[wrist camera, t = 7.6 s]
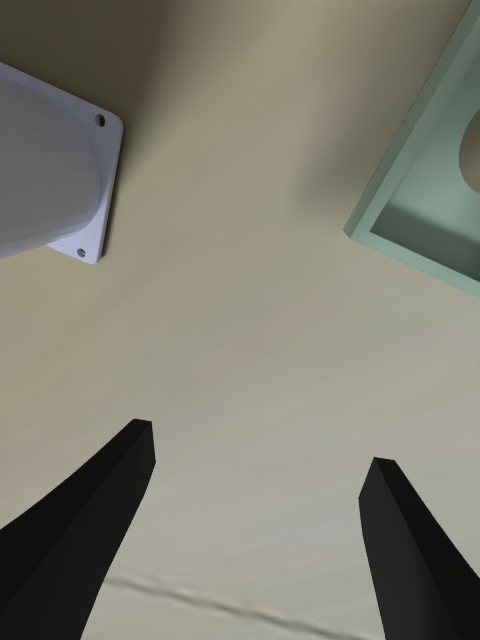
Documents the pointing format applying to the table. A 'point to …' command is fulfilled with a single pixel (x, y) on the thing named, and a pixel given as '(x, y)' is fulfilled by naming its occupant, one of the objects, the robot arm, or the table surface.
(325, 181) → the table surface
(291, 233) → the table surface
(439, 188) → the tray
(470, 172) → the shaker
